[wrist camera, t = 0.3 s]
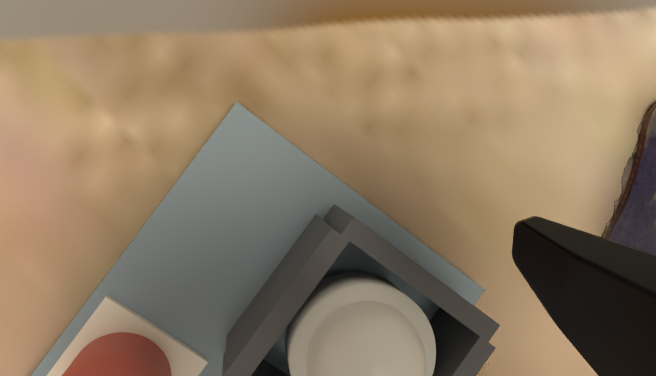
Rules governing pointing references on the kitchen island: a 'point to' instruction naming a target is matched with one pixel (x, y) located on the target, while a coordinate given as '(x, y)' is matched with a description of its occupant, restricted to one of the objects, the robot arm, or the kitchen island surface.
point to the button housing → (310, 267)
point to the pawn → (120, 357)
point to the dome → (359, 331)
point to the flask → (638, 194)
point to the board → (231, 251)
